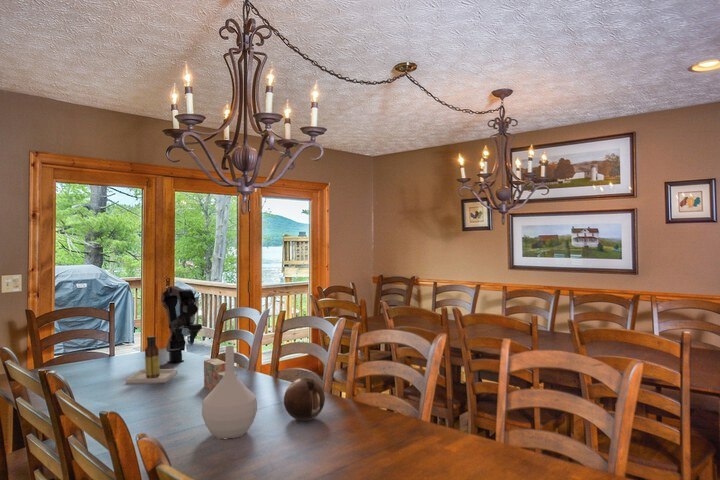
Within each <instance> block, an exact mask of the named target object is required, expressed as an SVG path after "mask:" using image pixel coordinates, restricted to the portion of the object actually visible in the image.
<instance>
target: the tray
mask: <svg viewBox="0 0 720 480" xmlns="http://www.w3.org/2000/svg"><path fill="white" fill-rule="evenodd" d="M159 369H160V373H159V374H160V375H159V377H156V378H147V377H146V369H140V370H138V371H137V372H135V373H133V374H131V376H128V377H127V378H126V379H125V385H137V384H140V385H141V384H143V385H144V384H146V385H147V384H148V385H149V384H166V383H167V382H169V381H170V380H171V379H172V378H174V377H175V376H176V375H177V374H178V368H164V369H163V368H159Z"/></svg>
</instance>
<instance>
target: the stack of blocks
mask: <svg viewBox="0 0 720 480" xmlns="http://www.w3.org/2000/svg"><path fill="white" fill-rule="evenodd" d="M224 374H225V361H224V360H222V359H219V358H211V359H205V360H203V385H204V388H206V389H207V390H209V391H210V392H211V391H212V390H213V389H214V388H215V387H216V386H217V384H218V383H219V382H220V381H221V379H222V378H223V376H224ZM235 374H236V376H237V377H238V373H236V372H235Z"/></svg>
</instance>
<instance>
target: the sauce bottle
mask: <svg viewBox="0 0 720 480" xmlns="http://www.w3.org/2000/svg"><path fill="white" fill-rule="evenodd" d="M156 339H157V337H156V335H148V336H146V340H147V345H146V348H145V349H144V359H145V361H144V362H145V363H144V365H145V370H146V377H147V378H156V377H159V375H160V374H159V373H160V369H161V368H160V354H159V348H158V346H157V343H156Z"/></svg>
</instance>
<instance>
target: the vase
mask: <svg viewBox="0 0 720 480" xmlns="http://www.w3.org/2000/svg"><path fill="white" fill-rule="evenodd" d="M234 348H235V347H234V345H225V361H224V362H225V374H224V376H223V378H222V379H221V381H220V382H219V383H218V384H217V386H216V387H215V388H214V389H213V390H212V391H211V390H210V392H209V393H208V395H207V396H205V398H204V399H203V401H202V406H201V416H202V420H203V422H204V425H205V427H206V428H207V430H208V431H209V432H210V434H211V435H212V436H214V437H215V438H217V439H220V438H223V439H222V440H225V439H224V438H233V439H236V438H235V437H237V438H240V437H242V436H244V435H245V434H246V433H247V432H248V431H249V429H250V428H251V426H252V425H253V423H254V422H255V418H256V415H257V412H258V400H257V396H256V394H255V393H253V392H252V391H251V390H250V389H249V388H248V387H247V386H246V385H245V384H244V383H243V382H242V381H241V379H240V378H238V375H237V376H236V374H235V373H236V371H235V351H234V350H235V349H234ZM243 434H244V435H243ZM241 435H242V436H241ZM239 436H240V437H239Z"/></svg>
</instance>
